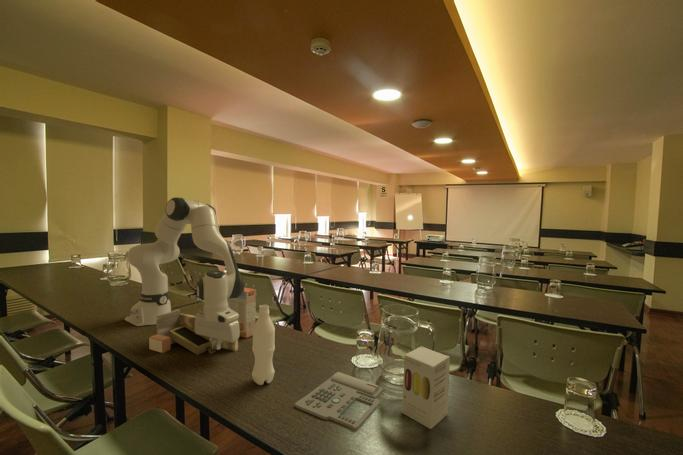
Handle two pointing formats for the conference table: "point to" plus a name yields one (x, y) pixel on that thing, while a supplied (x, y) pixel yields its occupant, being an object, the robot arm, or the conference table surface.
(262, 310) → the water bottle
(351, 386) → the office telephone
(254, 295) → the cracker box
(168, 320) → the shelf
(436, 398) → the supplement box
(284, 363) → the conference table surface
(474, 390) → the conference table surface
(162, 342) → the orange brown block
